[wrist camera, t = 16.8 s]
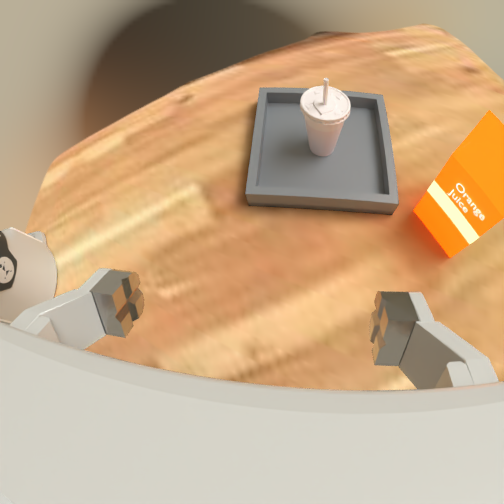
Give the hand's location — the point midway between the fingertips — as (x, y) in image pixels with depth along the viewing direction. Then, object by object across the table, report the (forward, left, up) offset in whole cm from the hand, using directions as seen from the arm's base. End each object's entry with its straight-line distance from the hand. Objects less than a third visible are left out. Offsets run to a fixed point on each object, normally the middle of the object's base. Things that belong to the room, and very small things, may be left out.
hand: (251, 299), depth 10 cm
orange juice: (+23, +17, -30) cm, 41 cm away
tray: (+4, +27, -29) cm, 40 cm away
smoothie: (+4, +27, -29) cm, 40 cm away
